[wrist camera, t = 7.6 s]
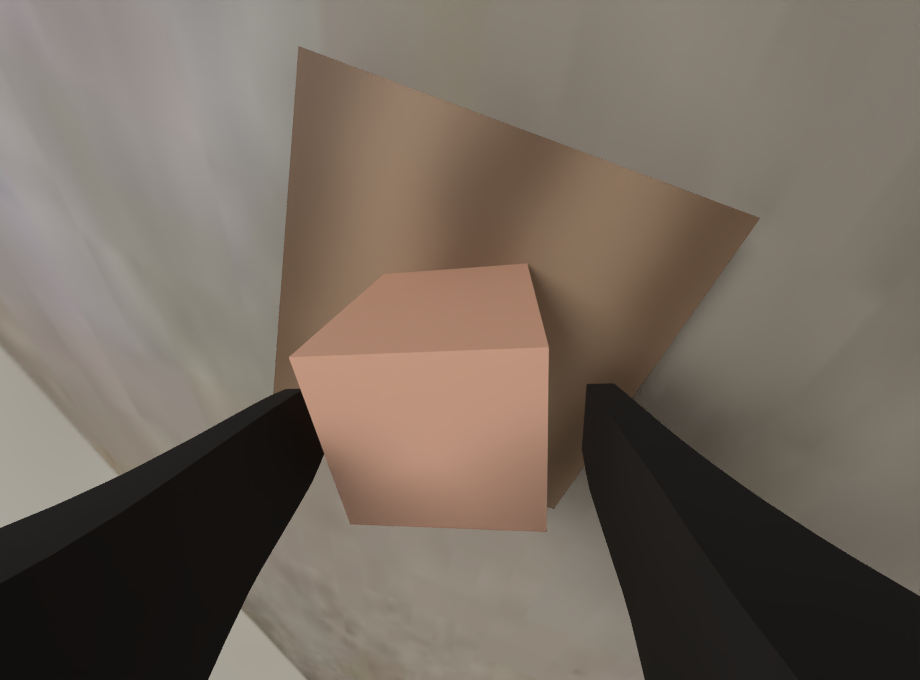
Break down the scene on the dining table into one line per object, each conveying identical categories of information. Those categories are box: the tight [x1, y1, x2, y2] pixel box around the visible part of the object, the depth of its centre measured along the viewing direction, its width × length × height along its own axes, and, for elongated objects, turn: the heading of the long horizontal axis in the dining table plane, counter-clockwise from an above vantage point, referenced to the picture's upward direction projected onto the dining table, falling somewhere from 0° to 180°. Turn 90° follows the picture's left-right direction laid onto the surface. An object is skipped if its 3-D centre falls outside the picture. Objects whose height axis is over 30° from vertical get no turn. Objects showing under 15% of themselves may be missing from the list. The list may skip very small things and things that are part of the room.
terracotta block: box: [289, 264, 549, 532], centre depth 10 cm, size 5×5×6 cm
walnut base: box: [273, 47, 760, 509], centre depth 14 cm, size 14×14×3 cm
